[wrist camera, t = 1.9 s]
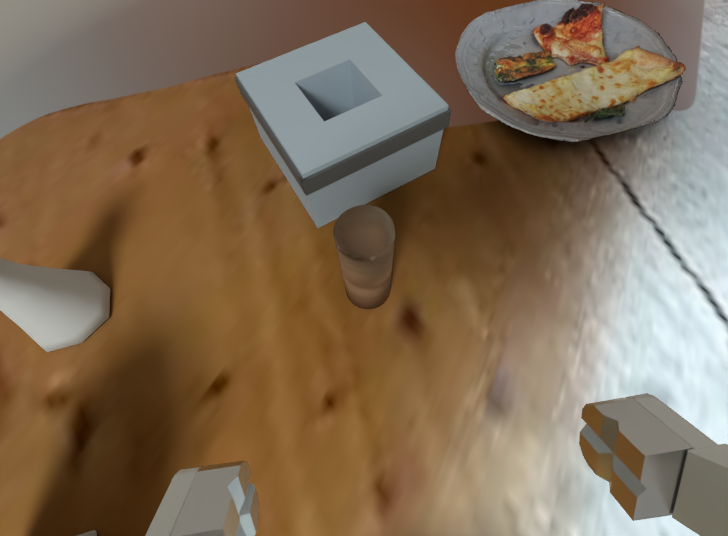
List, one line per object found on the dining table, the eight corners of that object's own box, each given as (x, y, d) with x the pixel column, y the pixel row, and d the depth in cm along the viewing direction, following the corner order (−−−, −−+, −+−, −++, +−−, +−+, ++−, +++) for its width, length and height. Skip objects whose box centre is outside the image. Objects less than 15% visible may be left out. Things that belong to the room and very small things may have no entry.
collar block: (368, 89, 43) (366, 19, 36) (438, 169, 38) (452, 105, 31) (258, 137, 41) (232, 72, 33) (316, 231, 35) (300, 177, 28)
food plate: (600, -1, 49) (615, -31, 46) (714, 118, 40) (742, 90, 36) (427, 42, 48) (430, 14, 45) (502, 175, 38) (512, 152, 35)
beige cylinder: (375, 260, 34) (374, 195, 24) (398, 294, 32) (407, 239, 23) (338, 281, 33) (323, 221, 24) (360, 317, 31) (353, 268, 22)
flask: (101, 261, 35) (2, 199, 26) (124, 320, 32) (23, 275, 23) (24, 301, 33) (-110, 250, 24) (41, 367, 30) (-102, 338, 21)
